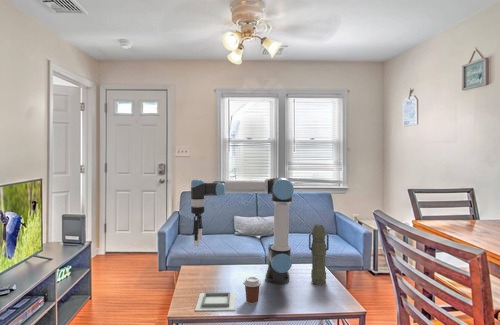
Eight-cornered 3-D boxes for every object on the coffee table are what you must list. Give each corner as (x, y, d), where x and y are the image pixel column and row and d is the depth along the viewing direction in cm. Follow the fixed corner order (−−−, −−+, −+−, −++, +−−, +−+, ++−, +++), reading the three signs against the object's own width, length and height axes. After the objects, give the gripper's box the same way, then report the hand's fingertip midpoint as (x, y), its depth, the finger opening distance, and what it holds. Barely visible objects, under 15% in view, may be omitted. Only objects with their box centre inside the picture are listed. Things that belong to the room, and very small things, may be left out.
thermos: (330, 284, 190) (330, 226, 190) (310, 285, 190) (310, 227, 190) (326, 279, 199) (326, 223, 199) (307, 279, 199) (307, 224, 199)
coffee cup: (241, 303, 166) (241, 281, 166) (247, 296, 174) (247, 275, 174) (257, 306, 163) (257, 283, 163) (263, 299, 171) (263, 277, 171)
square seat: (235, 293, 178) (235, 290, 178) (235, 310, 158) (235, 306, 158) (200, 294, 178) (200, 290, 178) (195, 311, 158) (195, 307, 158)
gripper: (194, 203, 195) (194, 237, 196) (187, 209, 171) (187, 248, 171) (206, 203, 196) (206, 237, 196) (201, 209, 171) (201, 248, 171)
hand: (198, 242), depth 183 cm, fingers open, 13 cm apart
